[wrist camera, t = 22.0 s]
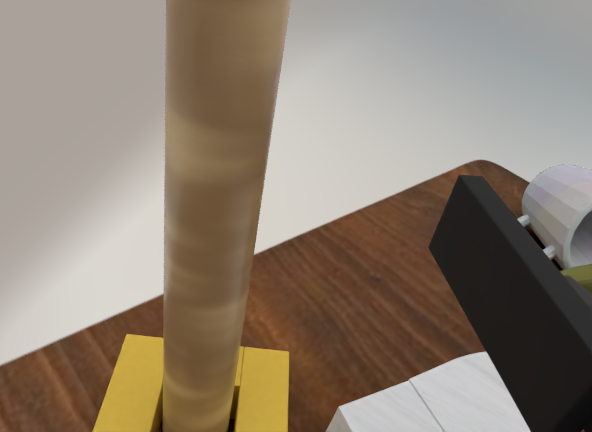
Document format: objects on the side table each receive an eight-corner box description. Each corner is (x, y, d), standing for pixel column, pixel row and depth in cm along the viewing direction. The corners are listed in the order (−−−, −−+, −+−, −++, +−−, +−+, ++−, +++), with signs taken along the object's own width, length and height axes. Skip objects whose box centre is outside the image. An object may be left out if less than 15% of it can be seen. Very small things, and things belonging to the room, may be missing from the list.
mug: (607, 220, 56) (679, 266, 47) (478, 270, 57) (525, 324, 47) (597, 134, 51) (675, 166, 42) (457, 189, 52) (504, 232, 43)
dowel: (156, 478, 28) (152, -111, 12) (169, 418, 31) (181, -121, 15) (221, 483, 29) (304, -82, 12) (228, 424, 32) (303, -98, 15)
